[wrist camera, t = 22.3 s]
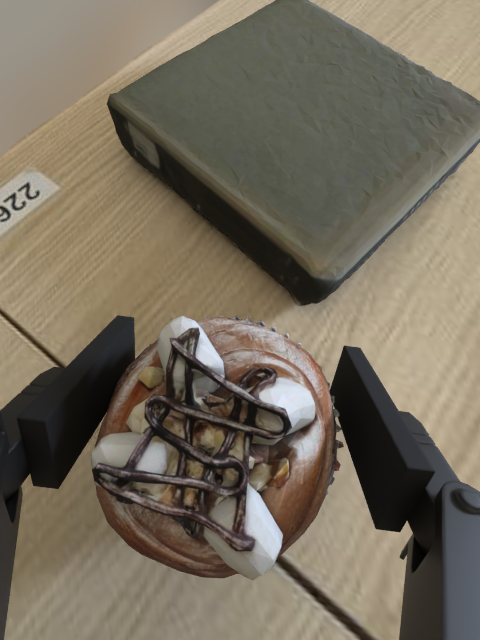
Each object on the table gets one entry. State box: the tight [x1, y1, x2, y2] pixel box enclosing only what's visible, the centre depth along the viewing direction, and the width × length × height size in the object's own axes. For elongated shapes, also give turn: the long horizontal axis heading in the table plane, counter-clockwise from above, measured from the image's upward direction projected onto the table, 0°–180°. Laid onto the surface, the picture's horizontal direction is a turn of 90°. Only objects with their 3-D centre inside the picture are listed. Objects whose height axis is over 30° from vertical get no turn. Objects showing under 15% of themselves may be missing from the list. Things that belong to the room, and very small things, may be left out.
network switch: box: [107, 0, 480, 306], centre depth 24 cm, size 23×24×5 cm
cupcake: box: [91, 315, 344, 580], centre depth 12 cm, size 10×10×10 cm
